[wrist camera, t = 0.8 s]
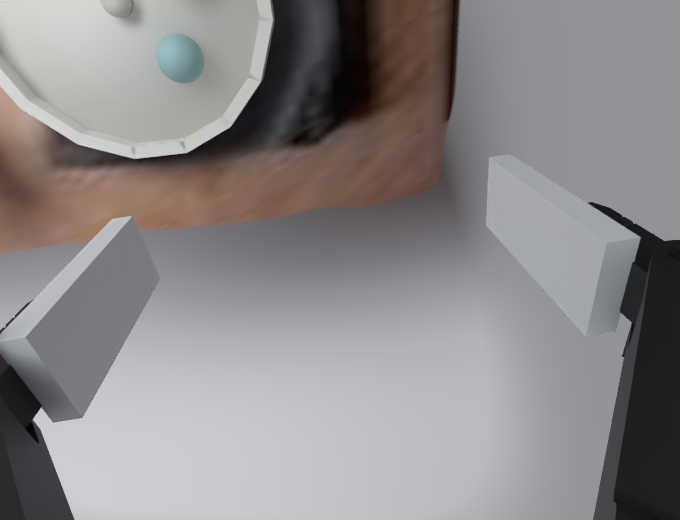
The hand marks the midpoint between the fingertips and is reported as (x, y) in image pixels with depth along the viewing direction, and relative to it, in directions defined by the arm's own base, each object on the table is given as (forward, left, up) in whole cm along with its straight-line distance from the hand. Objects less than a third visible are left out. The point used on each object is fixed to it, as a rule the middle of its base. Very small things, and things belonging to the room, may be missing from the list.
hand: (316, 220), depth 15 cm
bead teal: (-8, -7, -24) cm, 26 cm away
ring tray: (-14, -9, -25) cm, 30 cm away
